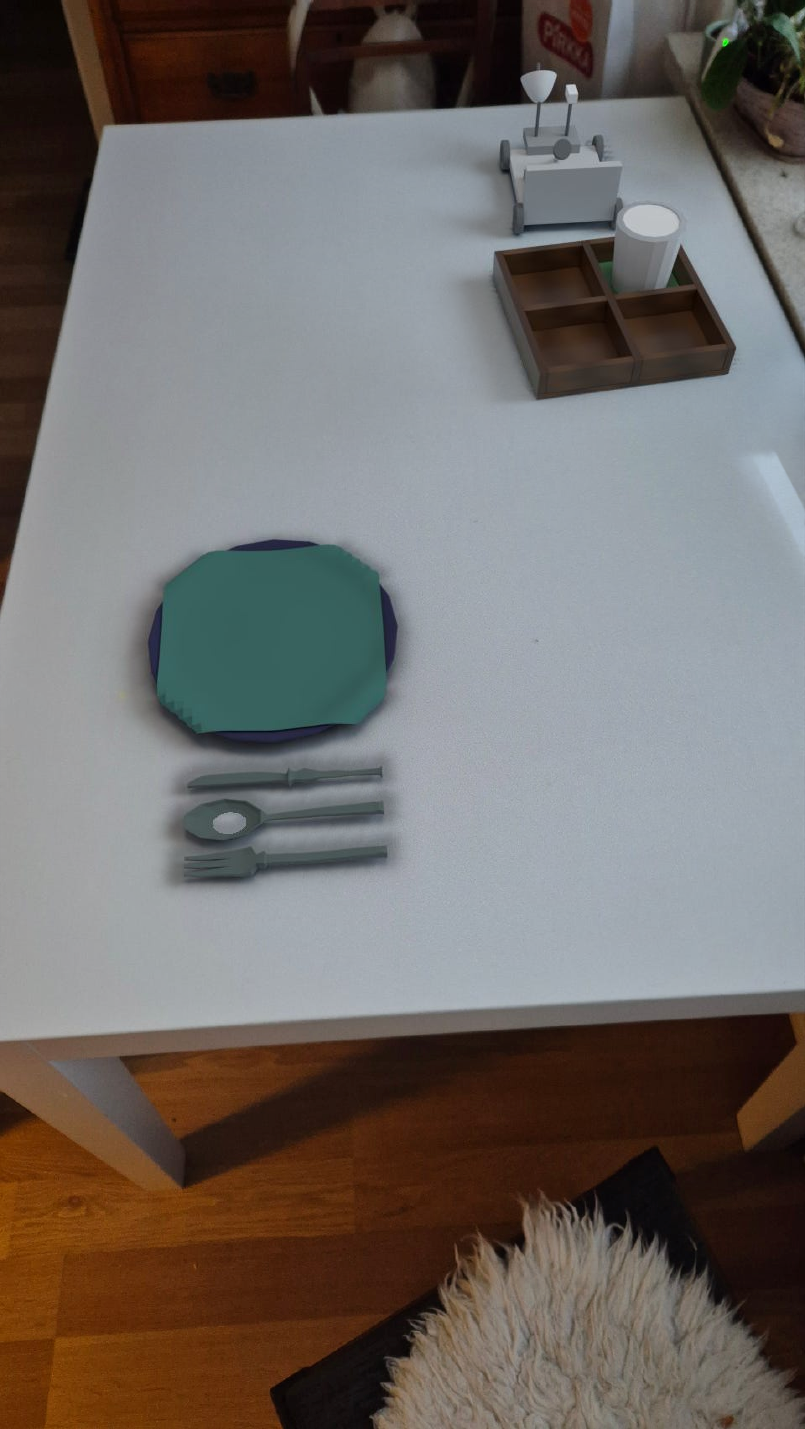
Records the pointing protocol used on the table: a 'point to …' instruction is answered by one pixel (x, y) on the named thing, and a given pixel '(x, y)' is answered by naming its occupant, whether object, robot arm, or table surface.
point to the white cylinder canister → (646, 245)
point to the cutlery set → (272, 671)
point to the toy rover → (559, 168)
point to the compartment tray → (605, 321)
